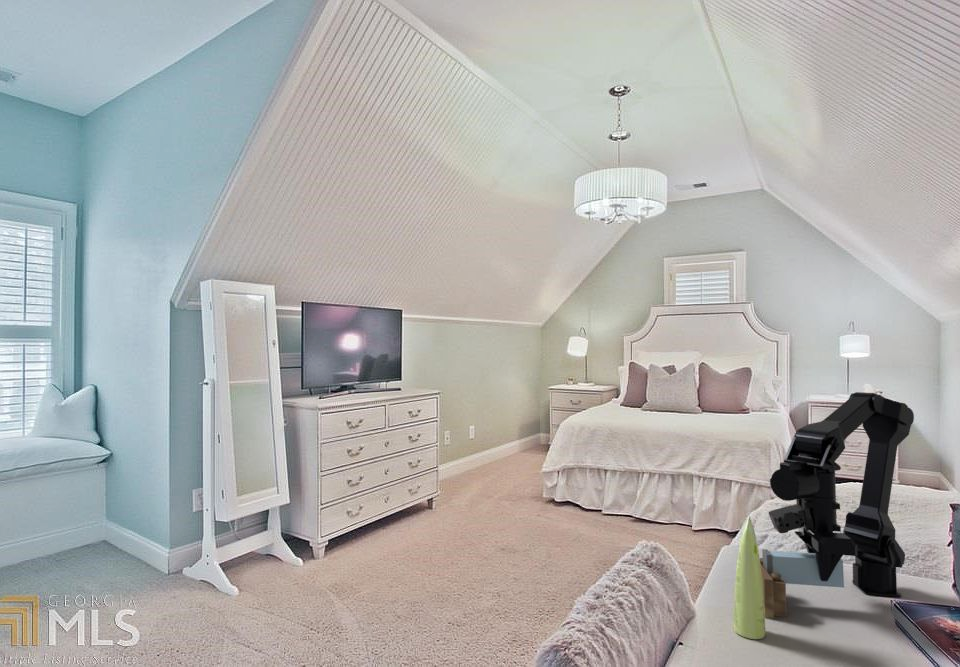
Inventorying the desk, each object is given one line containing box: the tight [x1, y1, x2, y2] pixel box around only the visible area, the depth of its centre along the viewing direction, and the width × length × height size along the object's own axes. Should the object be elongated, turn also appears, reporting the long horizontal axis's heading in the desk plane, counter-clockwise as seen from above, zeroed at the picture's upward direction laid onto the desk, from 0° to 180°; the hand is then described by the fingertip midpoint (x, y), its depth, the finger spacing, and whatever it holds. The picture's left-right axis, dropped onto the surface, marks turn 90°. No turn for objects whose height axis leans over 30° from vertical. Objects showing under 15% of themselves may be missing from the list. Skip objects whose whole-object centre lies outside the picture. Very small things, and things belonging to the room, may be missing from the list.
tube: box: [733, 513, 766, 640], centre depth 96 cm, size 6×5×20 cm
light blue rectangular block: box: [761, 549, 845, 588], centre depth 107 cm, size 13×3×5 cm, turn 77°
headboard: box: [759, 557, 787, 620], centre depth 108 cm, size 4×14×7 cm, turn 167°
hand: (820, 577), depth 106 cm, fingers closed on light blue rectangular block, 3 cm apart
